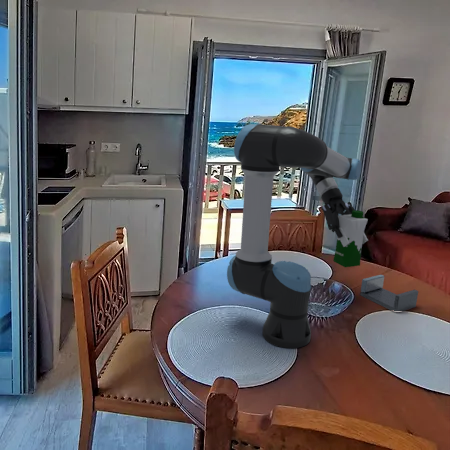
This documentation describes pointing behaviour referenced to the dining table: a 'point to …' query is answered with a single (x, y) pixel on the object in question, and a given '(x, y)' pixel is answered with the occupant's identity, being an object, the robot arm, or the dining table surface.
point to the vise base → (392, 299)
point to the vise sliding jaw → (372, 283)
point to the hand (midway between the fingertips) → (355, 243)
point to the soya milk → (350, 239)
